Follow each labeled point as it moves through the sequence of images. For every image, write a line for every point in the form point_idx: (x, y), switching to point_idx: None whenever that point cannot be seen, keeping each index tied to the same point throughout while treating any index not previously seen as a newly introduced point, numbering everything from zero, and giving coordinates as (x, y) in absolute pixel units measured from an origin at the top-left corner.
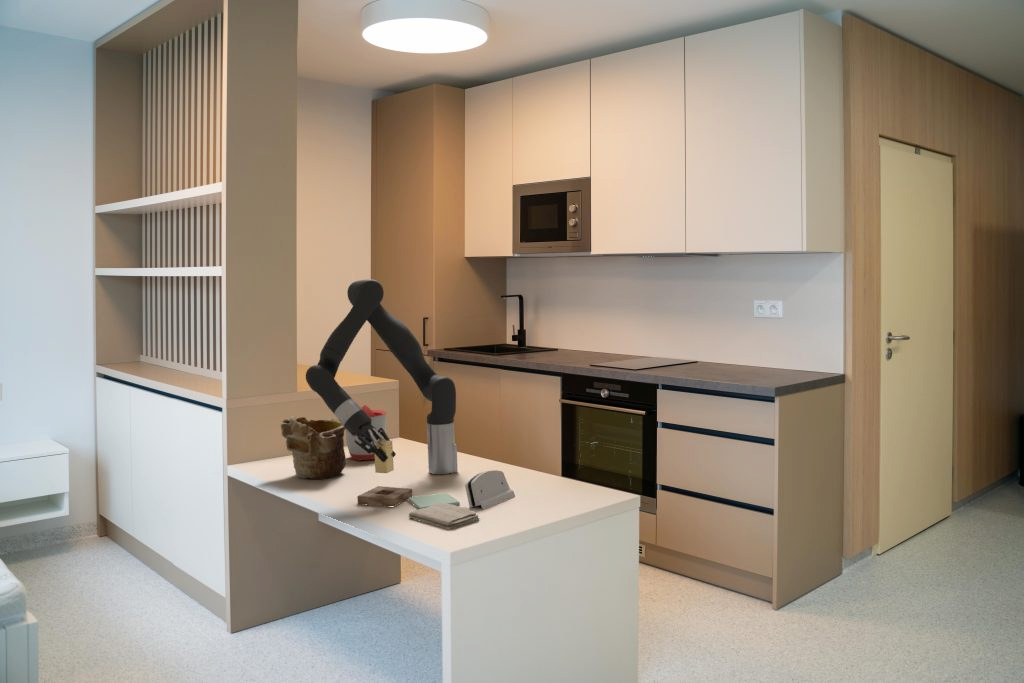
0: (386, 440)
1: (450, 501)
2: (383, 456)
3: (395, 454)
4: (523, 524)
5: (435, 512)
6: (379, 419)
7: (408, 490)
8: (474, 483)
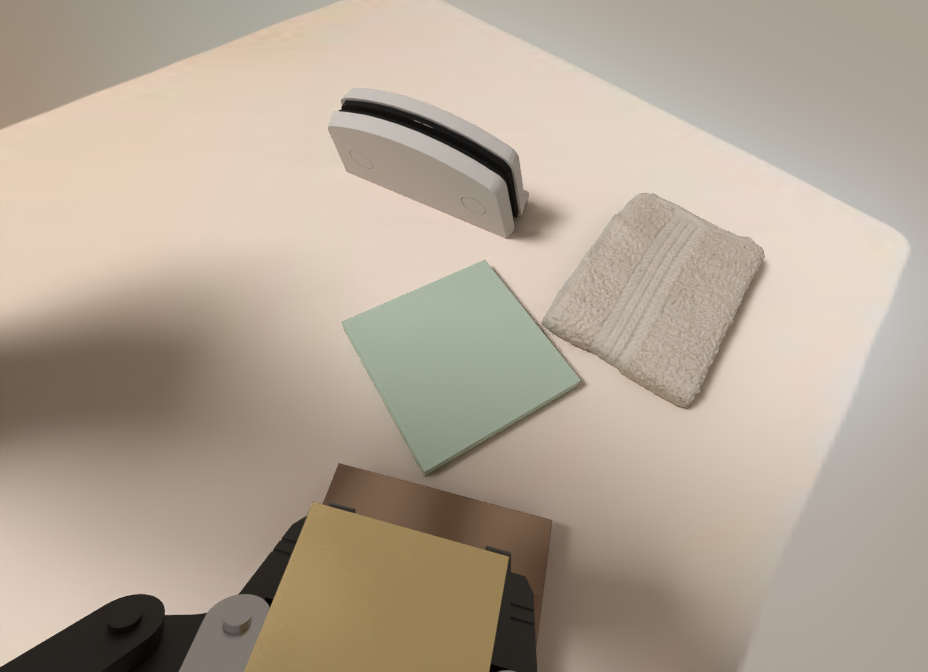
0: (126, 665)
1: (482, 288)
2: (526, 590)
3: (335, 504)
4: (644, 123)
5: (690, 296)
6: None
7: (375, 475)
8: (517, 154)
